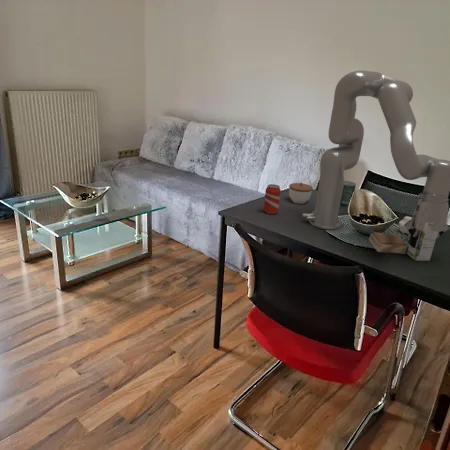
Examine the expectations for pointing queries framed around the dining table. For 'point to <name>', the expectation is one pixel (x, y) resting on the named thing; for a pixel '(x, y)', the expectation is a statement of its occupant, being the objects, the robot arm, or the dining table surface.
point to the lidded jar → (300, 192)
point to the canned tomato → (347, 193)
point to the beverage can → (272, 199)
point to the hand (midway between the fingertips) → (421, 246)
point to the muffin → (401, 224)
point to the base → (388, 243)
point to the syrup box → (423, 244)
